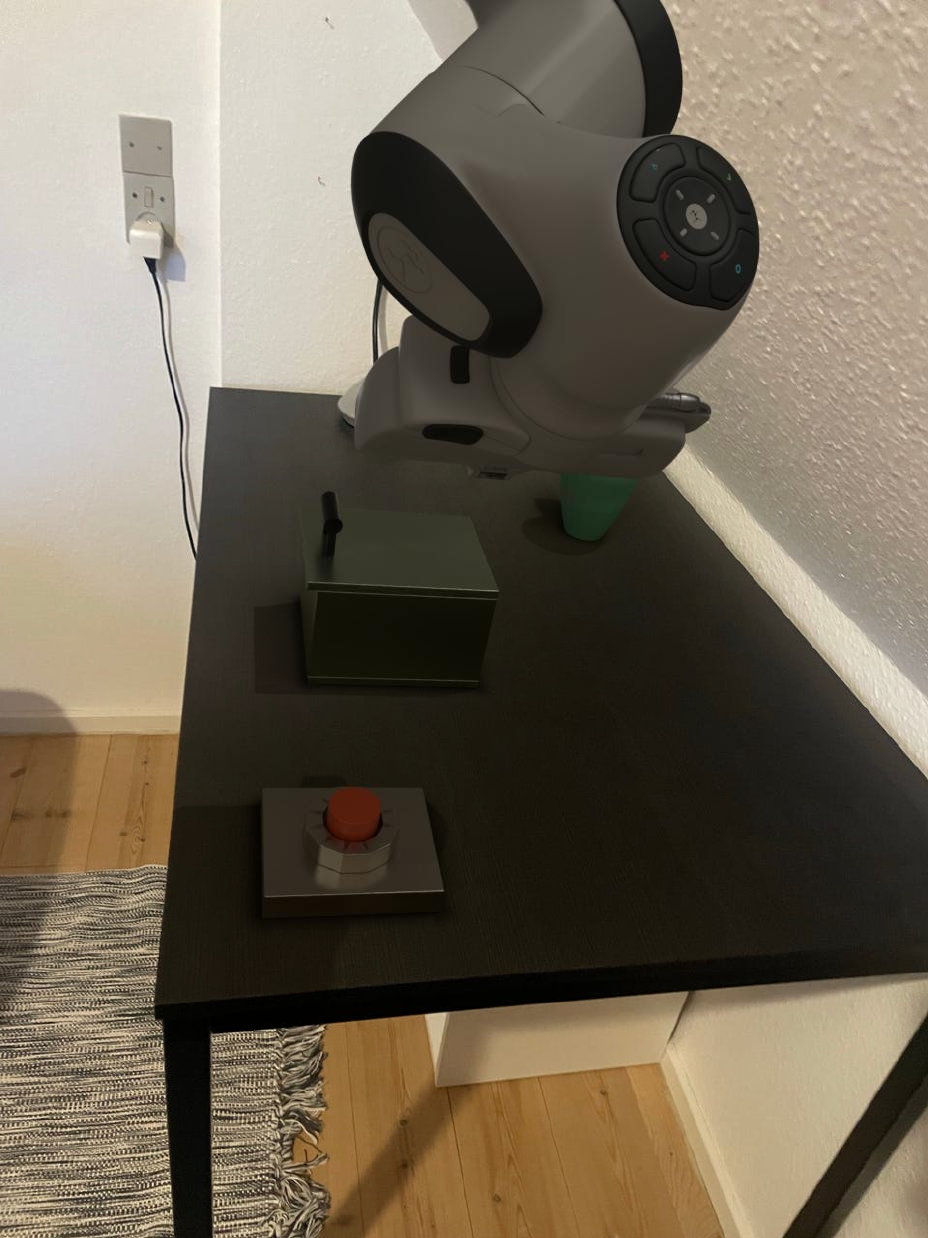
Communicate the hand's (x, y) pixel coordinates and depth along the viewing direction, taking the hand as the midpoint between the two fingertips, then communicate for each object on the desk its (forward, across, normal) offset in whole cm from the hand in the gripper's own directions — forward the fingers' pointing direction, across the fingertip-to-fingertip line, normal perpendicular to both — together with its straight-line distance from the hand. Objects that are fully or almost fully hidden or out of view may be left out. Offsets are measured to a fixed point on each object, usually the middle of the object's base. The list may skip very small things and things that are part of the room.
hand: (487, 468), depth 65 cm
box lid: (+22, +2, +1) cm, 22 cm away
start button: (+7, +8, +24) cm, 26 cm away
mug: (+49, -26, -12) cm, 57 cm away
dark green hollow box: (+29, +2, +8) cm, 30 cm away
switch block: (+10, +8, +27) cm, 30 cm away
